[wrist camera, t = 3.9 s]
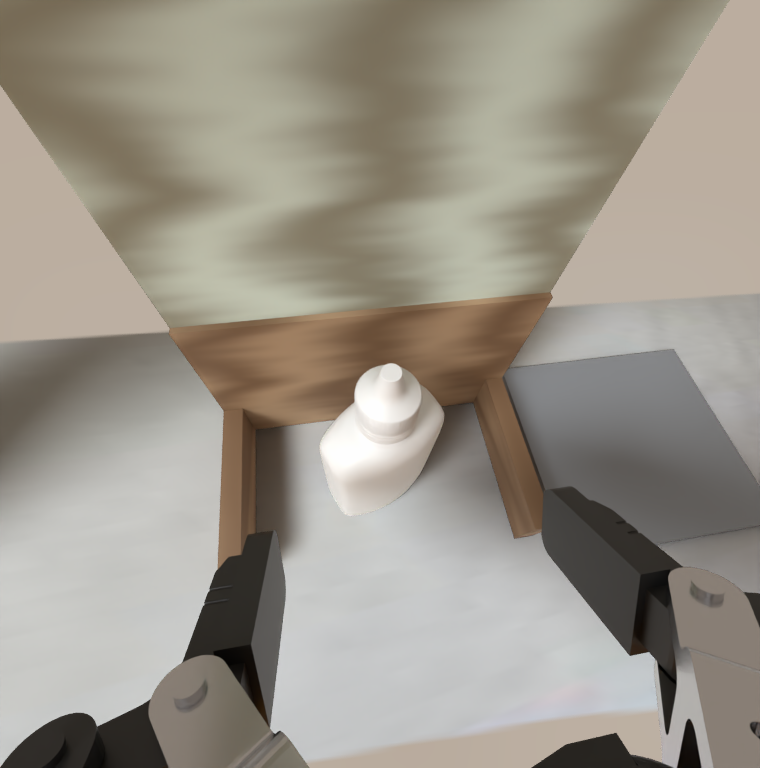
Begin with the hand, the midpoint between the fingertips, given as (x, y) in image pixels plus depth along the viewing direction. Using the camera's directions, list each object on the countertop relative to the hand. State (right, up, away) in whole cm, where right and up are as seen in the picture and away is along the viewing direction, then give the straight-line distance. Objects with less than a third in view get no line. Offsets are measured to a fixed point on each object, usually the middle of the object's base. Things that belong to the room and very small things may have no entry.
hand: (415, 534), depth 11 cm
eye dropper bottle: (-1, -1, +12) cm, 12 cm away
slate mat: (+15, +1, +13) cm, 20 cm away
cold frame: (-1, -1, +11) cm, 12 cm away
